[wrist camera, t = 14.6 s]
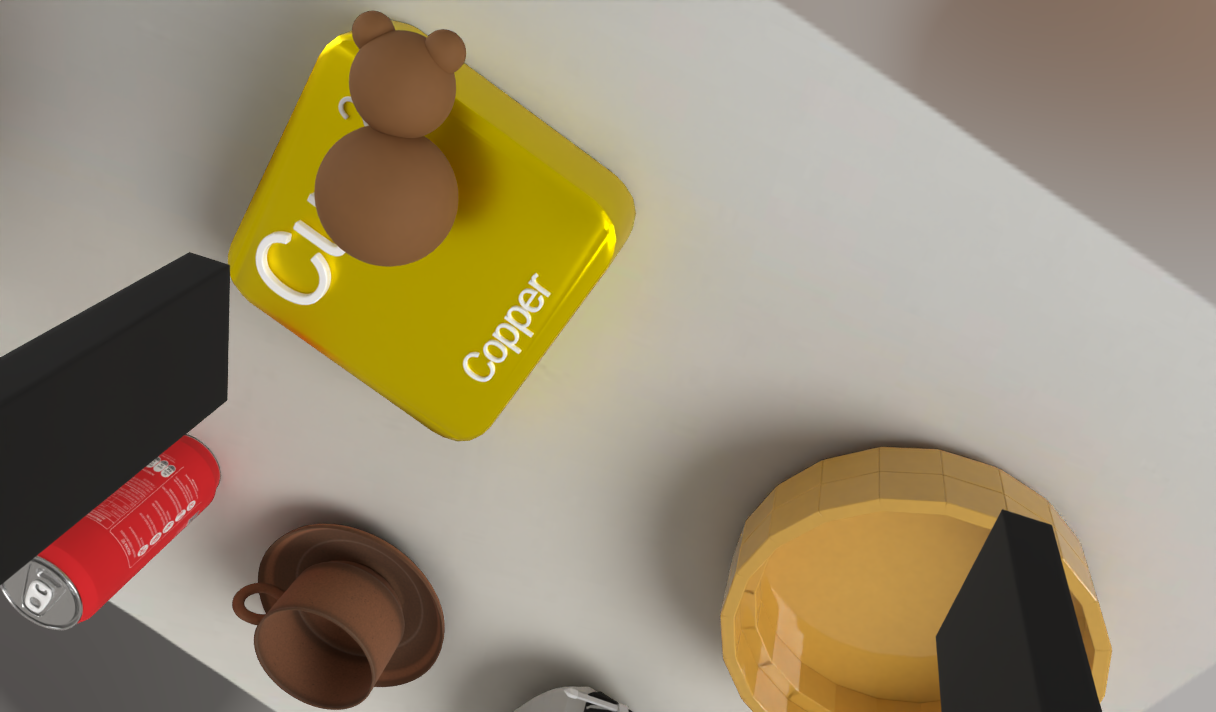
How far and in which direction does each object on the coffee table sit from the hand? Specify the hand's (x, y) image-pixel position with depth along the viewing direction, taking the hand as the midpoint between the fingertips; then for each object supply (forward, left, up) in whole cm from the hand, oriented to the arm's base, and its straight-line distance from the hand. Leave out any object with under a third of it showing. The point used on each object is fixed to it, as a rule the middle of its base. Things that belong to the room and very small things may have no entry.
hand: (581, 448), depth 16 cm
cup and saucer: (+35, -15, -29) cm, 48 cm away
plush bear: (+9, -13, -21) cm, 26 cm away
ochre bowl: (+22, +14, -29) cm, 39 cm away
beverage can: (+30, -27, -29) cm, 50 cm away
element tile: (+10, -13, -29) cm, 33 cm away
